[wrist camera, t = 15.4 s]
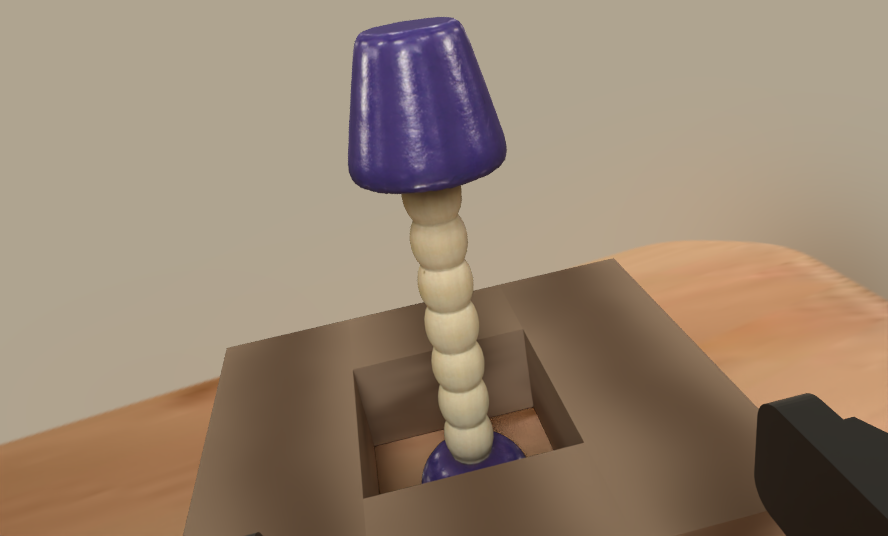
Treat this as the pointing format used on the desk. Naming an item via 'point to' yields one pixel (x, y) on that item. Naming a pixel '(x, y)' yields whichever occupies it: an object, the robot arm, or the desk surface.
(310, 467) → the socket block
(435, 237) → the toy lamp
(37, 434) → the desk surface
